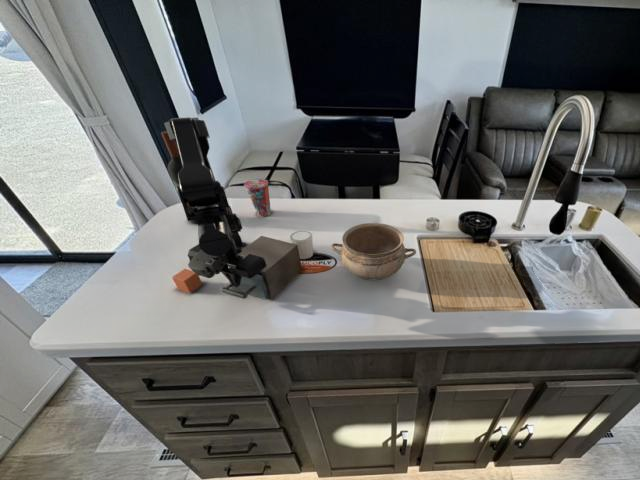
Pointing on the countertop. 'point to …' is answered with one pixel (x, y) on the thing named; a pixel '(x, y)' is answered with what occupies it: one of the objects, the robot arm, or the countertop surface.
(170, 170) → the wine bottle
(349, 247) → the cooking pot
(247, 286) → the drawer
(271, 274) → the cabinet
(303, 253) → the white short cylinder
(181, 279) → the block
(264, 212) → the cup
